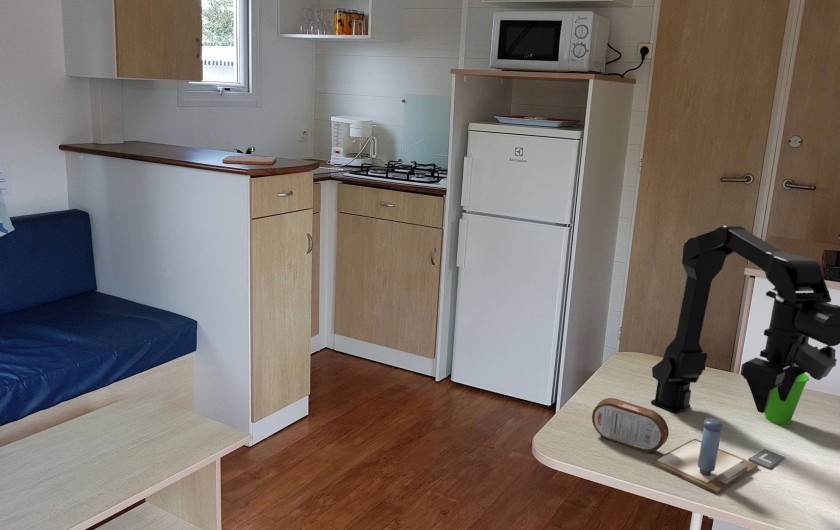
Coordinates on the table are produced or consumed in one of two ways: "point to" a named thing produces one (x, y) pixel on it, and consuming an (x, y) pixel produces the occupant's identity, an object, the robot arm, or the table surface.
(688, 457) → the clipboard
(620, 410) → the tin
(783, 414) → the cup
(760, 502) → the table surface
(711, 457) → the cylinder
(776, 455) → the letter tile
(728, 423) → the table surface
